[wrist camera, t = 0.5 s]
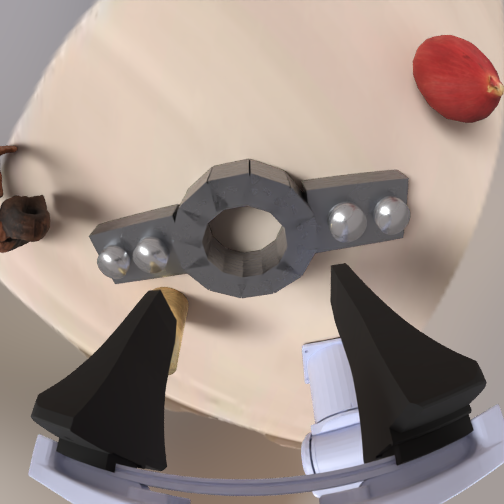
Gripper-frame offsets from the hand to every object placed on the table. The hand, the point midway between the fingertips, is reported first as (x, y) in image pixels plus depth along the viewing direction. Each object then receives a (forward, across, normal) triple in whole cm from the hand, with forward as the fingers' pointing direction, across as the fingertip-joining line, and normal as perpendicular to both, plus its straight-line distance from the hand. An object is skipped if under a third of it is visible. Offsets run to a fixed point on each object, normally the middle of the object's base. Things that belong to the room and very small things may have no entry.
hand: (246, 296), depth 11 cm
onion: (+10, -14, -8) cm, 19 cm away
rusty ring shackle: (+10, +20, -6) cm, 23 cm away
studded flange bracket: (+10, 0, +2) cm, 10 cm away
